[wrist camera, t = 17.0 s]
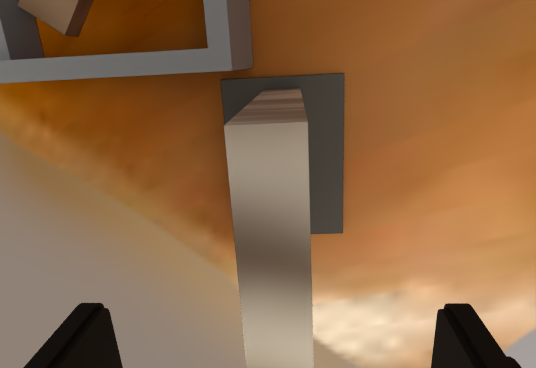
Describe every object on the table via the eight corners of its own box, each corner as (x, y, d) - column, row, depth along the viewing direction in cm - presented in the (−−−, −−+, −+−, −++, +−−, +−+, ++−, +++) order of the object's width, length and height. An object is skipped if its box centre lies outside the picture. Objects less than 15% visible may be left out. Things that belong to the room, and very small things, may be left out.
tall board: (263, 90, 30) (224, 125, 13) (300, 88, 30) (307, 121, 13) (271, 224, 34) (248, 386, 17) (304, 223, 34) (314, 387, 17)
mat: (222, 79, 31) (220, 79, 30) (343, 73, 30) (344, 73, 30) (235, 232, 35) (234, 235, 35) (341, 230, 34) (342, 233, 34)
